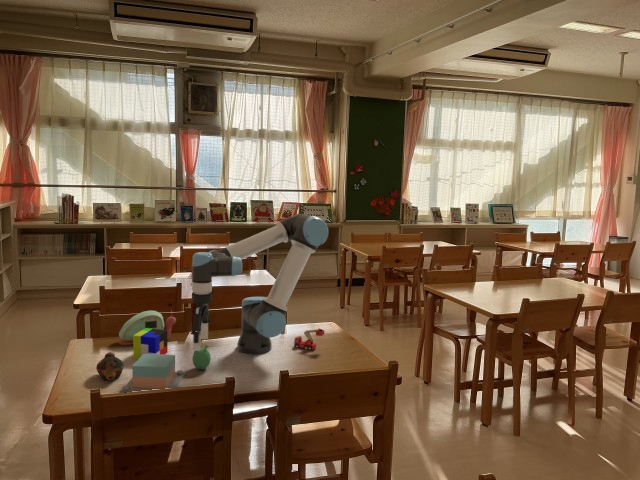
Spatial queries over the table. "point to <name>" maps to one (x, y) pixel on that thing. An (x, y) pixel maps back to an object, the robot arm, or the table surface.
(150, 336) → the puzzle toy
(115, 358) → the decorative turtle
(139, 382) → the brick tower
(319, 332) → the toy fire truck
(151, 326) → the toy snail
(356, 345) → the table surface
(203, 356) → the alien toy
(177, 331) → the table surface
